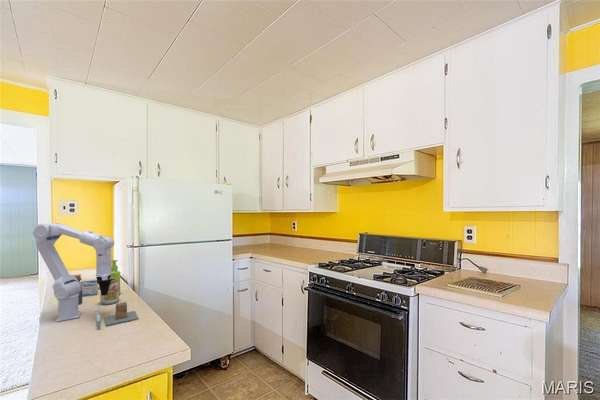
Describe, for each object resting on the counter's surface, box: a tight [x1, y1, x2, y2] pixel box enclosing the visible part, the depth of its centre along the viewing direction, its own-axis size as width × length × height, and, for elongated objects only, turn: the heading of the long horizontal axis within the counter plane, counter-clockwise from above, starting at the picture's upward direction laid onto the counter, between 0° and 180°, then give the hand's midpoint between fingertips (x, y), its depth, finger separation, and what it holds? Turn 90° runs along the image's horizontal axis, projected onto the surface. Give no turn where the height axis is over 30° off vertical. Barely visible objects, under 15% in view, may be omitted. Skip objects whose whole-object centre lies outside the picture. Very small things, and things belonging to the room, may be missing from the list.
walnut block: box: [115, 301, 128, 320], centre depth 129 cm, size 4×4×6 cm
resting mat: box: [103, 310, 139, 327], centre depth 129 cm, size 12×12×1 cm
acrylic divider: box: [95, 309, 101, 331], centre depth 124 cm, size 16×1×4 cm, turn 36°
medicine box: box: [80, 278, 99, 298], centre depth 168 cm, size 8×4×9 cm, turn 118°
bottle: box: [71, 273, 83, 306], centre depth 151 cm, size 6×6×15 cm
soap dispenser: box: [109, 259, 121, 296], centre depth 166 cm, size 6×7×20 cm
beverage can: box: [98, 278, 120, 306], centre depth 152 cm, size 9×8×12 cm
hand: (103, 293), depth 133 cm, fingers open, 7 cm apart
